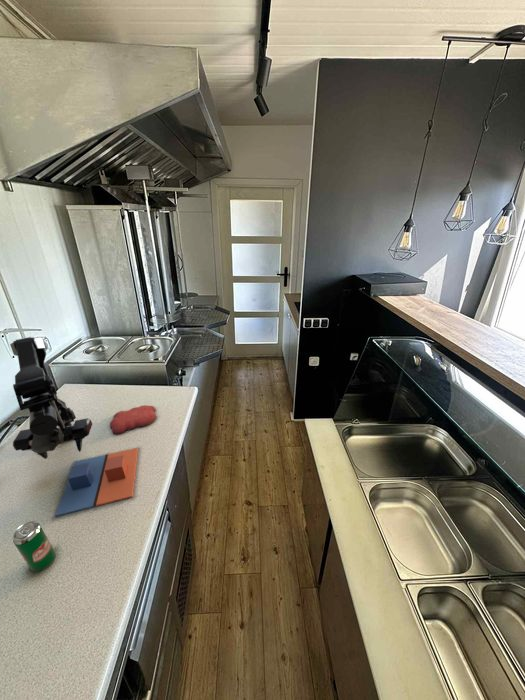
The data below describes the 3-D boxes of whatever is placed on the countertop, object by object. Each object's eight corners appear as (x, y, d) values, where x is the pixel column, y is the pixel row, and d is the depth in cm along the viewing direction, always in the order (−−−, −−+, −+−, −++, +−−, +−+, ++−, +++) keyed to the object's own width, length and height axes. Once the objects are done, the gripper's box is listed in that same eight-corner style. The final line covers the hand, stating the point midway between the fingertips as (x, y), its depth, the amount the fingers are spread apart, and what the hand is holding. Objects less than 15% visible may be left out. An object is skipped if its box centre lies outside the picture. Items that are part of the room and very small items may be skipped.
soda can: (43, 574, 67) (23, 544, 62) (25, 570, 68) (4, 539, 63) (61, 552, 71) (44, 521, 66) (44, 548, 72) (26, 517, 67)
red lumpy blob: (110, 437, 108) (109, 433, 107) (110, 416, 119) (108, 412, 118) (158, 422, 115) (157, 418, 114) (153, 404, 126) (153, 400, 125)
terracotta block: (111, 469, 93) (107, 458, 91) (127, 465, 95) (124, 454, 92) (108, 481, 89) (104, 470, 87) (125, 477, 90) (122, 466, 88)
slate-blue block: (76, 477, 91) (71, 466, 89) (94, 473, 92) (89, 462, 90) (72, 490, 87) (67, 479, 84) (91, 486, 88) (86, 474, 86)
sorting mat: (75, 462, 97) (74, 461, 97) (138, 449, 102) (137, 447, 102) (55, 516, 80) (54, 515, 79) (132, 497, 85) (131, 495, 84)
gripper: (-8, 441, 72) (16, 483, 79) (75, 425, 77) (91, 466, 84) (12, 414, 81) (32, 454, 88) (85, 401, 86) (98, 440, 93)
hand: (63, 454), depth 88 cm, fingers open, 9 cm apart
